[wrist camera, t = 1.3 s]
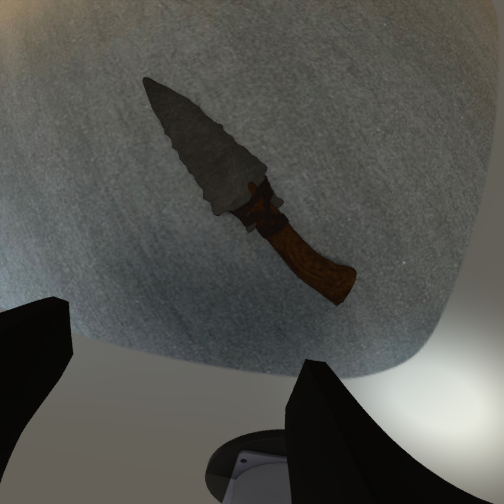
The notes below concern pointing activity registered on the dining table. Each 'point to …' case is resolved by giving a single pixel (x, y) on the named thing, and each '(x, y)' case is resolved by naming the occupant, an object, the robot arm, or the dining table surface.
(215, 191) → the knife
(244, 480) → the robot arm
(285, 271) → the dining table surface
